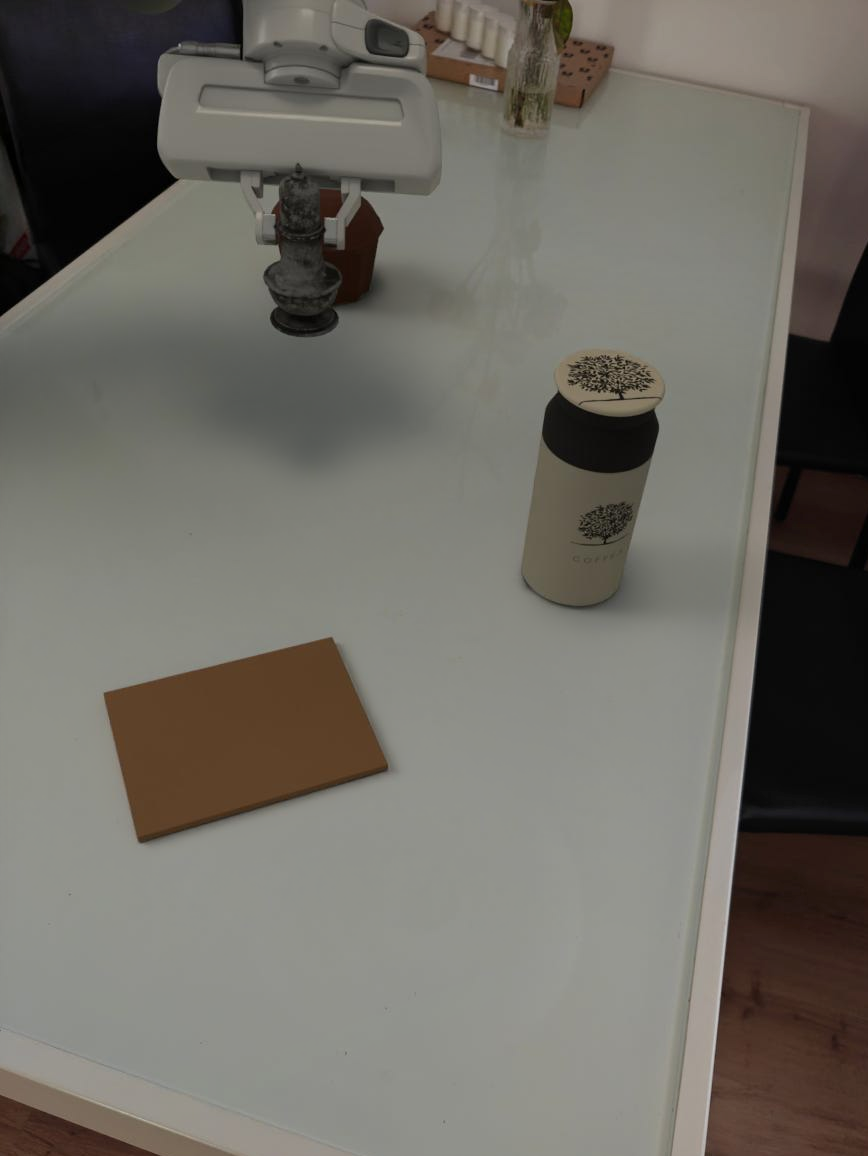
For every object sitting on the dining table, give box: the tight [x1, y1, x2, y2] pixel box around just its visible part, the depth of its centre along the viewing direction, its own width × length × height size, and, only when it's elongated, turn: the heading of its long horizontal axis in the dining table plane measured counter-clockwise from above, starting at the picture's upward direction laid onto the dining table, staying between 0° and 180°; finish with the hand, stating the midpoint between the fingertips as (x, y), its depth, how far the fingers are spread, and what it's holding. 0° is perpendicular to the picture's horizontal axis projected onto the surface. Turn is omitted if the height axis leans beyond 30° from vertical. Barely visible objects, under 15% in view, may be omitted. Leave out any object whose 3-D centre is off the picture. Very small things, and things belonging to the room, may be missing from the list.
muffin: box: [270, 189, 385, 307], centre depth 105 cm, size 12×11×10 cm
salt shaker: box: [262, 163, 342, 338], centre depth 76 cm, size 6×6×12 cm
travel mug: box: [520, 348, 666, 607], centre depth 75 cm, size 8×8×18 cm
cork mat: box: [103, 636, 389, 843], centre depth 68 cm, size 16×12×1 cm
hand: (301, 245), depth 75 cm, fingers closed on salt shaker, 3 cm apart
